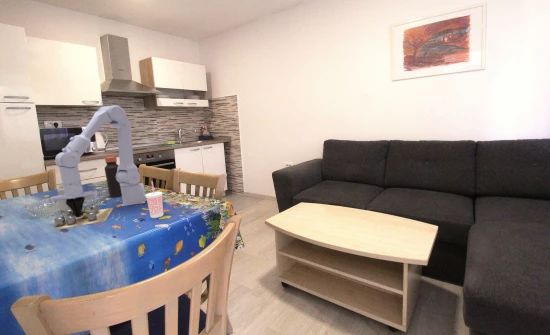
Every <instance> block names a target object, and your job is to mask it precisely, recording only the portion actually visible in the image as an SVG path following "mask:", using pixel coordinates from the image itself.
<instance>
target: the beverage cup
mask: <svg viewBox="0 0 550 335" xmlns="http://www.w3.org/2000/svg"><path fill="white" fill-rule="evenodd" d="M150 184H151V189H152V192H148V193H145V196H146V201H147V202H146V203H147V207H148V210H149V211H148V212H149V216H150V218H152V219H157V218H160V217H163V216H164V206H163V192H162V191H155V188H154V182H153V180H151V183H150Z"/></svg>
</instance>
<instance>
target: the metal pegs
mask: <svg viewBox="0 0 550 335" xmlns="http://www.w3.org/2000/svg"><path fill="white" fill-rule="evenodd" d="M83 208H84V207H82V212H83V211H84V209H83ZM88 209H95V211H91V212H88V213H86V215H87V219H88V221H89V222H90V221H95V220H97V216H96V214H97V213H99V210H100V209H99V205H98V204H94V205H90V206H89V208H88ZM63 212H64V215H62V216H56V217H54V218H53V221H54V224H55V228H56V227H61V226H64V225H66V223H67V225H74V224H76V223H77V221H76V216H75V214H74V212H73V211H72V209H67V210H64V211H63ZM65 219H66V222H65Z"/></svg>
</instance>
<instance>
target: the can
mask: <svg viewBox="0 0 550 335" xmlns="http://www.w3.org/2000/svg"><path fill="white" fill-rule="evenodd" d="M56 191H57V196H59V195H64V194H65V193H64V188H63V184H59V185H58V187H57V189H56ZM59 204H60V210H61V212H64V210H67V209H71V208H70V207H69V206H68V205H67V204H66V200H65V201H59ZM82 207H83V206H82ZM83 208H84V207H83Z"/></svg>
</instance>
